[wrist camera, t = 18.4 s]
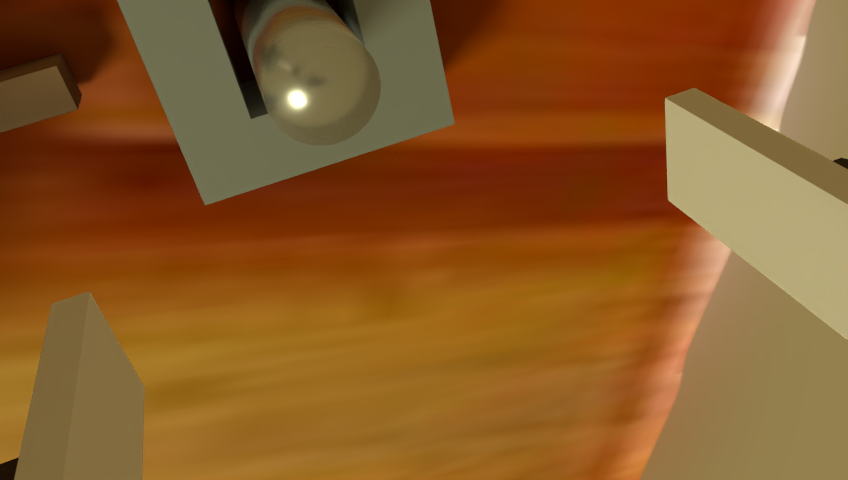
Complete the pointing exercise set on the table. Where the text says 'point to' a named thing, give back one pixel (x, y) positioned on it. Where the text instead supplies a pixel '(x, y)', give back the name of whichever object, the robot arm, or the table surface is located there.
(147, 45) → the dock
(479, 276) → the table surface
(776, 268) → the robot arm
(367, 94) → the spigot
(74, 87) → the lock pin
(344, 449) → the table surface
